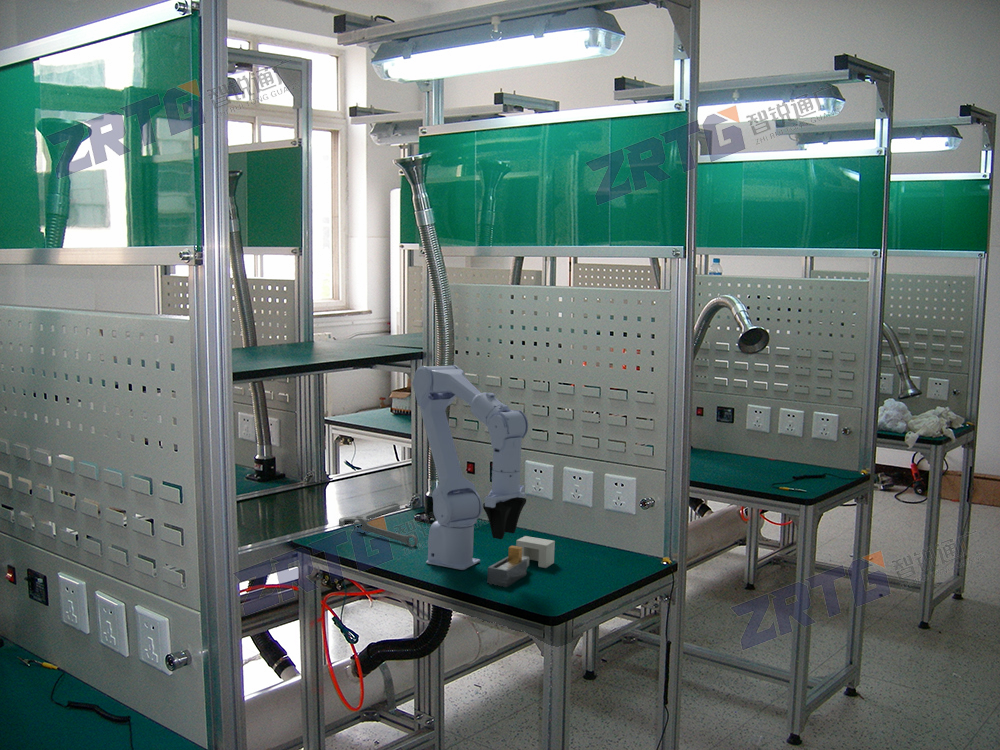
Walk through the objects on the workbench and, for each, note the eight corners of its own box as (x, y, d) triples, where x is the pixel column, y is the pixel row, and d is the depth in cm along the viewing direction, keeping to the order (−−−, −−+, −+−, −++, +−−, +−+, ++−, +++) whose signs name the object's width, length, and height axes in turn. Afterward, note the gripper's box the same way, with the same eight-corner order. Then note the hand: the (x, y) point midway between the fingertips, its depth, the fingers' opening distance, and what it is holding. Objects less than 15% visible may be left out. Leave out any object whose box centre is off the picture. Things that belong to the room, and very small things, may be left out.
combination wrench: (418, 533, 213) (358, 516, 225) (414, 534, 212) (355, 517, 224) (417, 549, 213) (358, 531, 225) (413, 550, 212) (354, 532, 224)
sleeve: (487, 583, 188) (487, 567, 187) (507, 571, 196) (508, 556, 196) (506, 587, 186) (507, 571, 185) (526, 575, 194) (526, 559, 194)
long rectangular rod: (494, 578, 188) (495, 554, 188) (519, 564, 199) (519, 541, 198) (504, 580, 187) (505, 556, 187) (529, 566, 198) (530, 542, 197)
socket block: (515, 562, 203) (516, 540, 203) (524, 557, 207) (525, 535, 207) (545, 567, 200) (546, 545, 199) (553, 562, 204) (554, 540, 203)
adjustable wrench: (393, 508, 252) (393, 501, 252) (412, 511, 249) (412, 505, 248) (334, 525, 230) (334, 519, 230) (355, 530, 227) (355, 523, 227)
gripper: (508, 478, 178) (505, 546, 180) (538, 466, 191) (536, 530, 193) (476, 473, 182) (474, 540, 183) (508, 462, 194) (505, 525, 196)
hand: (503, 535), depth 188 cm, fingers open, 5 cm apart
